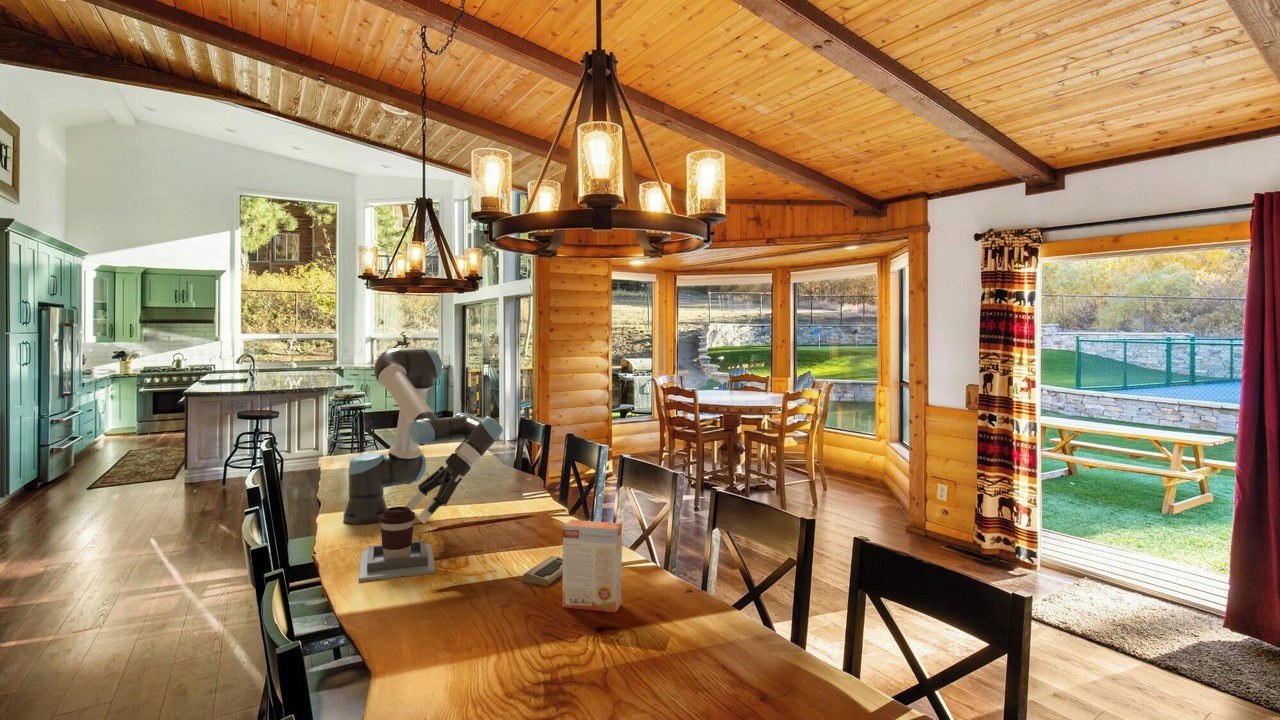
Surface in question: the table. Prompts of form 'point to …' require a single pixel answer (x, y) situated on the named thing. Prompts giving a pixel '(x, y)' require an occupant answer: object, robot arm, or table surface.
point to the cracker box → (592, 565)
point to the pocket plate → (396, 563)
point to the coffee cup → (397, 532)
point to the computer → (545, 571)
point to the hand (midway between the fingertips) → (413, 515)
